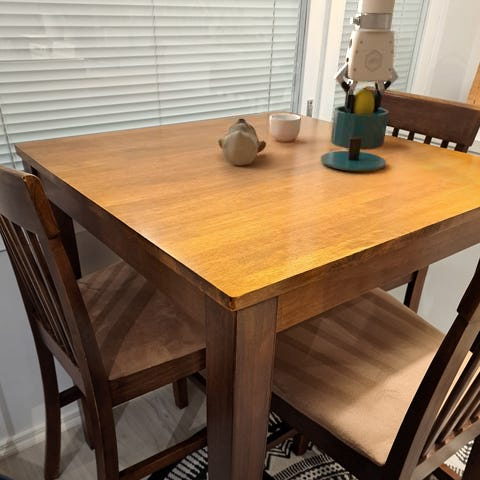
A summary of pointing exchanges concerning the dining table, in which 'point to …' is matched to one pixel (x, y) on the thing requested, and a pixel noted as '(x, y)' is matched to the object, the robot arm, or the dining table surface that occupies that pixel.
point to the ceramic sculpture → (241, 143)
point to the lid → (353, 158)
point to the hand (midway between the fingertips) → (361, 111)
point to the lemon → (363, 102)
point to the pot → (359, 128)
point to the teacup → (284, 126)
